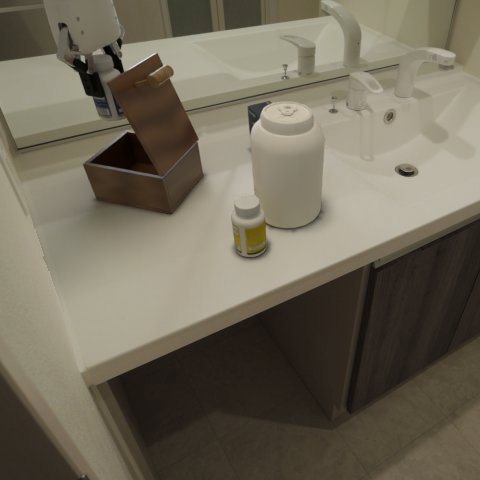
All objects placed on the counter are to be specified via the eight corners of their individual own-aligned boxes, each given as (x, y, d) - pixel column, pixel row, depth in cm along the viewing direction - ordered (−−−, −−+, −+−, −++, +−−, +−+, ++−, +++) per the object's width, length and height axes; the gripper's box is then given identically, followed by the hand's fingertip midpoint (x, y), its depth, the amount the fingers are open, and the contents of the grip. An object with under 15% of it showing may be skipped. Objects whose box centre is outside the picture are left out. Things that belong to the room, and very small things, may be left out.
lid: (105, 82, 62) (134, 75, 60) (153, 53, 72) (179, 46, 70) (160, 177, 72) (185, 173, 70) (195, 139, 81) (219, 136, 80)
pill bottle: (129, 106, 76) (114, 50, 70) (133, 119, 73) (118, 61, 66) (97, 111, 74) (78, 54, 68) (100, 124, 71) (81, 65, 64)
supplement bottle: (272, 241, 73) (269, 195, 66) (258, 261, 69) (255, 215, 62) (244, 233, 74) (239, 188, 67) (229, 253, 70) (222, 207, 64)
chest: (96, 199, 79) (82, 164, 74) (136, 163, 89) (126, 129, 84) (171, 214, 77) (162, 179, 72) (203, 175, 87) (197, 141, 82)
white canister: (258, 189, 84) (252, 92, 71) (320, 190, 85) (325, 95, 71) (251, 229, 75) (242, 127, 61) (321, 231, 75) (327, 130, 62)
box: (250, 149, 95) (246, 105, 88) (272, 143, 98) (270, 100, 91) (265, 165, 91) (263, 120, 84) (288, 159, 93) (288, 114, 86)
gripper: (84, -50, 65) (117, 68, 77) (-4, -31, 53) (52, 106, 65) (127, -45, 64) (154, 74, 76) (48, -25, 51) (95, 113, 64)
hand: (107, 87), depth 70 cm, fingers closed on pill bottle, 5 cm apart
